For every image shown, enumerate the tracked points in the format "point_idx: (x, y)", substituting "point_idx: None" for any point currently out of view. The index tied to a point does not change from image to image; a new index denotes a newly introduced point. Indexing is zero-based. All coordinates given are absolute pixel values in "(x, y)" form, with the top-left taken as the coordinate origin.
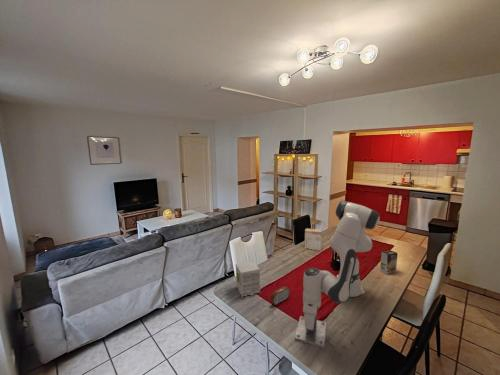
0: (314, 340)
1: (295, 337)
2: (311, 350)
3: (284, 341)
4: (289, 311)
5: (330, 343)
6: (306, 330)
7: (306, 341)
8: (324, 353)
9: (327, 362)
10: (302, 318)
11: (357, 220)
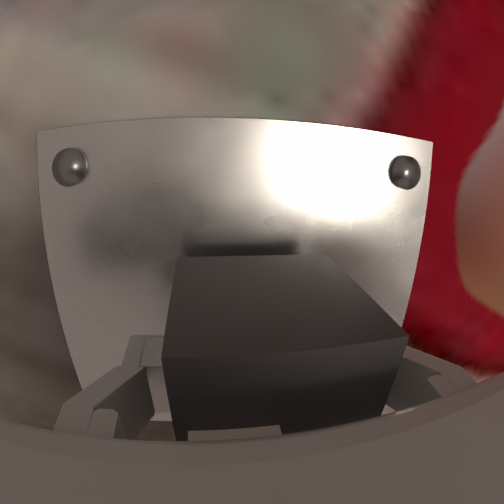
0: (98, 350)
1: (40, 138)
2: (18, 315)
3: (7, 45)
4: (457, 32)
5: (170, 433)
6: (207, 249)
7: (54, 271)
8: (56, 400)
9: (12, 408)
10: (399, 172)
11: None
